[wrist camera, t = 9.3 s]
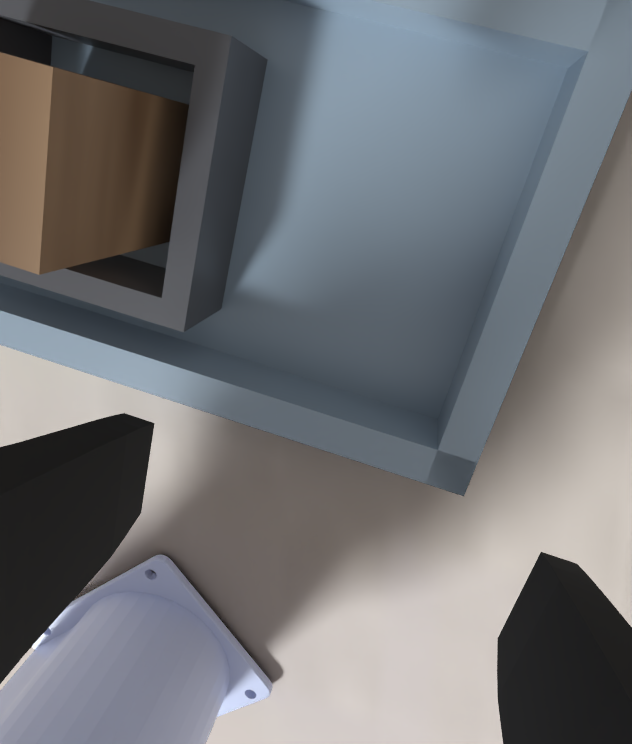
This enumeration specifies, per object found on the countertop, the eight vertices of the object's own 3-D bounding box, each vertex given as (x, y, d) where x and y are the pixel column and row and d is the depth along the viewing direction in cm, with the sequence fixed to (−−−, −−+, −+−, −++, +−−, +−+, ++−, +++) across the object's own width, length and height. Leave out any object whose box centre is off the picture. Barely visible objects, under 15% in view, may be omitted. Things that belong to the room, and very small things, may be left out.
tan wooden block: (70, 205, 19) (-125, 221, 12) (81, 74, 17) (-135, 14, 11) (181, 238, 18) (39, 274, 12) (202, 108, 17) (53, 67, 10)
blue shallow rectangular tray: (-51, 292, 21) (-135, 313, 18) (-54, -126, 16) (-170, -196, 13) (460, 455, 19) (464, 510, 16) (630, 30, 14) (683, -10, 11)
